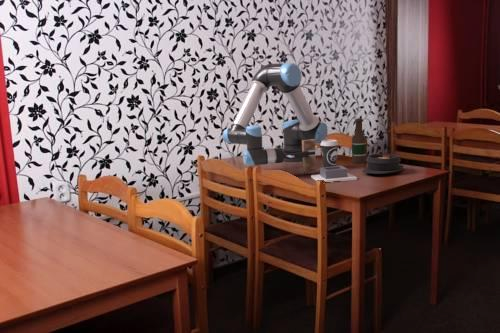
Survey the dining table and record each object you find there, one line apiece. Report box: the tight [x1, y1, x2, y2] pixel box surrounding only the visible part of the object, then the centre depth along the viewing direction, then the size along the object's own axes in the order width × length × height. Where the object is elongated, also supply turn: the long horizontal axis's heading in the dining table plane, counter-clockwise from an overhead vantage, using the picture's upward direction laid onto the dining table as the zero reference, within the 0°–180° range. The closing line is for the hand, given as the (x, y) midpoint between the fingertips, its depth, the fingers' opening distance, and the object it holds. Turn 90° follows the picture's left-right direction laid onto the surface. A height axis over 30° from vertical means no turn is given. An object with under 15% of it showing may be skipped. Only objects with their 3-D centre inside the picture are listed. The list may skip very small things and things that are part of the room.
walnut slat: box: [302, 139, 317, 173], centre depth 273 cm, size 6×3×16 cm, turn 103°
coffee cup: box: [319, 139, 340, 167], centre depth 284 cm, size 10×10×15 cm
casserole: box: [362, 153, 405, 175], centre depth 271 cm, size 25×19×8 cm
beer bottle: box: [351, 118, 367, 165], centre depth 297 cm, size 8×8×24 cm
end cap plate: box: [310, 165, 358, 183], centre depth 262 cm, size 18×14×5 cm
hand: (319, 151), depth 274 cm, fingers closed on walnut slat, 3 cm apart
